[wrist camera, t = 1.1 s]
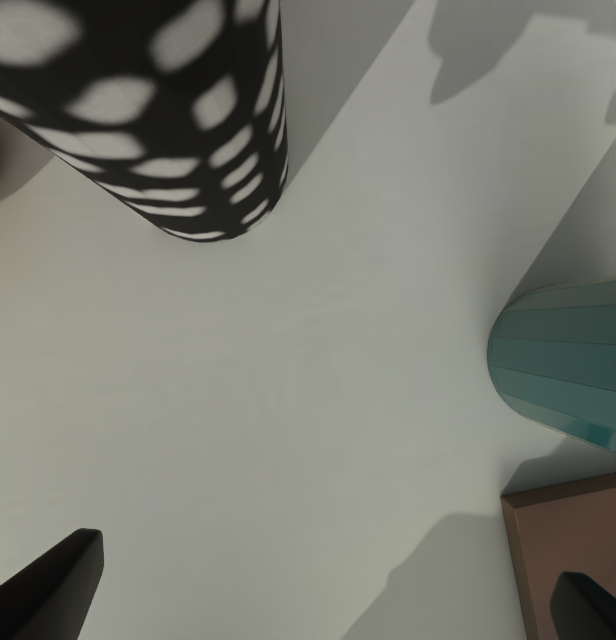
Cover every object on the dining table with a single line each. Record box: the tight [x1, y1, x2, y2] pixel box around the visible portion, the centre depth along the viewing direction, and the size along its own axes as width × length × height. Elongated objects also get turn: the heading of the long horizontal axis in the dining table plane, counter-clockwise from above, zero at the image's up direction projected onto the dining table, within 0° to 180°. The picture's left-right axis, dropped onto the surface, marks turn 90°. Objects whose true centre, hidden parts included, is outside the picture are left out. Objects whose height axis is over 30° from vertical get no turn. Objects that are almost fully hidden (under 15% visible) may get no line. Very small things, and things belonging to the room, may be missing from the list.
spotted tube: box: [0, 0, 288, 242], centre depth 13 cm, size 8×8×20 cm
